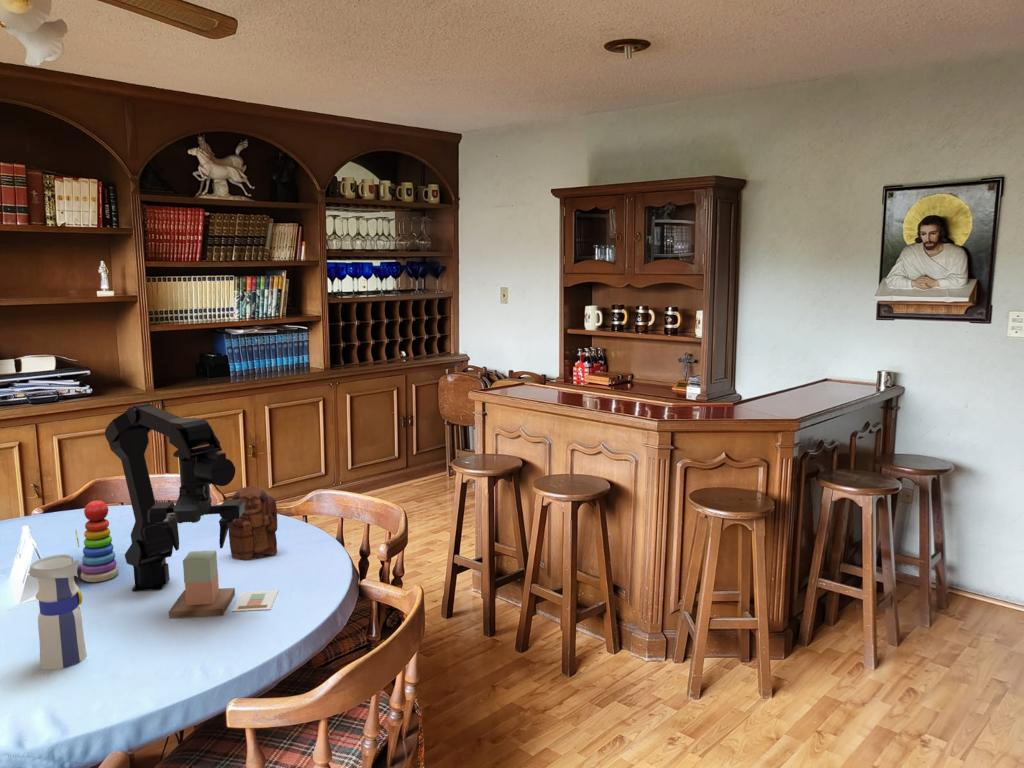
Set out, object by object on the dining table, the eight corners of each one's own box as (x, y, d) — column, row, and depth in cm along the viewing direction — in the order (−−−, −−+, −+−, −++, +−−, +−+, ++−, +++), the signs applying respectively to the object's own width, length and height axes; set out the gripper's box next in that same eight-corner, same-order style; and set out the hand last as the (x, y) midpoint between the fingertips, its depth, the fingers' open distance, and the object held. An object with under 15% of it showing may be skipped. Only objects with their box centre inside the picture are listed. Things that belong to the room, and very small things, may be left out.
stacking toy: (103, 584, 184) (96, 507, 181) (73, 582, 186) (66, 505, 183) (125, 571, 192) (119, 497, 189) (97, 569, 193) (90, 495, 190)
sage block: (184, 583, 168) (182, 560, 168) (191, 573, 174) (190, 551, 173) (211, 581, 169) (209, 559, 168) (217, 572, 174) (216, 550, 174)
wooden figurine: (231, 562, 197) (226, 493, 194) (229, 554, 203) (225, 486, 200) (280, 556, 202) (276, 488, 199) (277, 548, 207) (274, 481, 205)
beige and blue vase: (77, 643, 155) (66, 521, 151) (96, 657, 150) (85, 530, 146) (31, 659, 149) (18, 532, 145) (49, 674, 143) (36, 543, 140)
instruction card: (232, 611, 169) (232, 610, 169) (242, 592, 179) (242, 591, 179) (270, 609, 170) (270, 608, 170) (278, 591, 180) (278, 589, 180)
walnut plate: (169, 618, 166) (168, 611, 166) (184, 596, 177) (184, 590, 177) (223, 615, 167) (222, 608, 167) (235, 594, 178) (234, 587, 178)
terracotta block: (186, 605, 169) (184, 583, 168) (193, 594, 174) (191, 573, 174) (213, 603, 170) (211, 581, 169) (219, 593, 175) (217, 571, 174)
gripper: (135, 491, 159) (141, 564, 161) (231, 487, 161) (235, 560, 163) (153, 476, 170) (159, 545, 172) (243, 473, 172) (247, 542, 174)
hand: (199, 548), depth 170 cm, fingers open, 9 cm apart
